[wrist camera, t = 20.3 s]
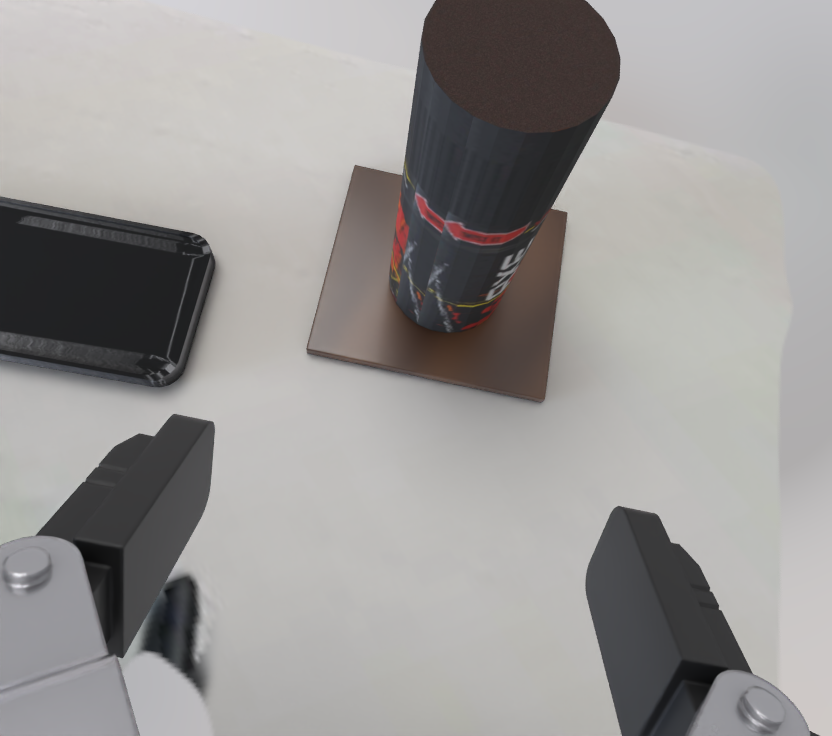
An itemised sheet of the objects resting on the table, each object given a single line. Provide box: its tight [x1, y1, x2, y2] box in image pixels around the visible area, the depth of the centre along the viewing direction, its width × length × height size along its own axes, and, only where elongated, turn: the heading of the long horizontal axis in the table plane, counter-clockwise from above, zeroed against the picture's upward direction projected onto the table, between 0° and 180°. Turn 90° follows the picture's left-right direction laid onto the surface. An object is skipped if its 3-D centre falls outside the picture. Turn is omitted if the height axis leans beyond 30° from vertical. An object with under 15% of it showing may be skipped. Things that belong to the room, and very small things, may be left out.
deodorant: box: [389, 0, 620, 333], centre depth 25 cm, size 6×6×15 cm
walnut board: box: [307, 165, 567, 402], centre depth 33 cm, size 12×11×1 cm
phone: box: [0, 197, 215, 387], centre depth 30 cm, size 8×1×15 cm
